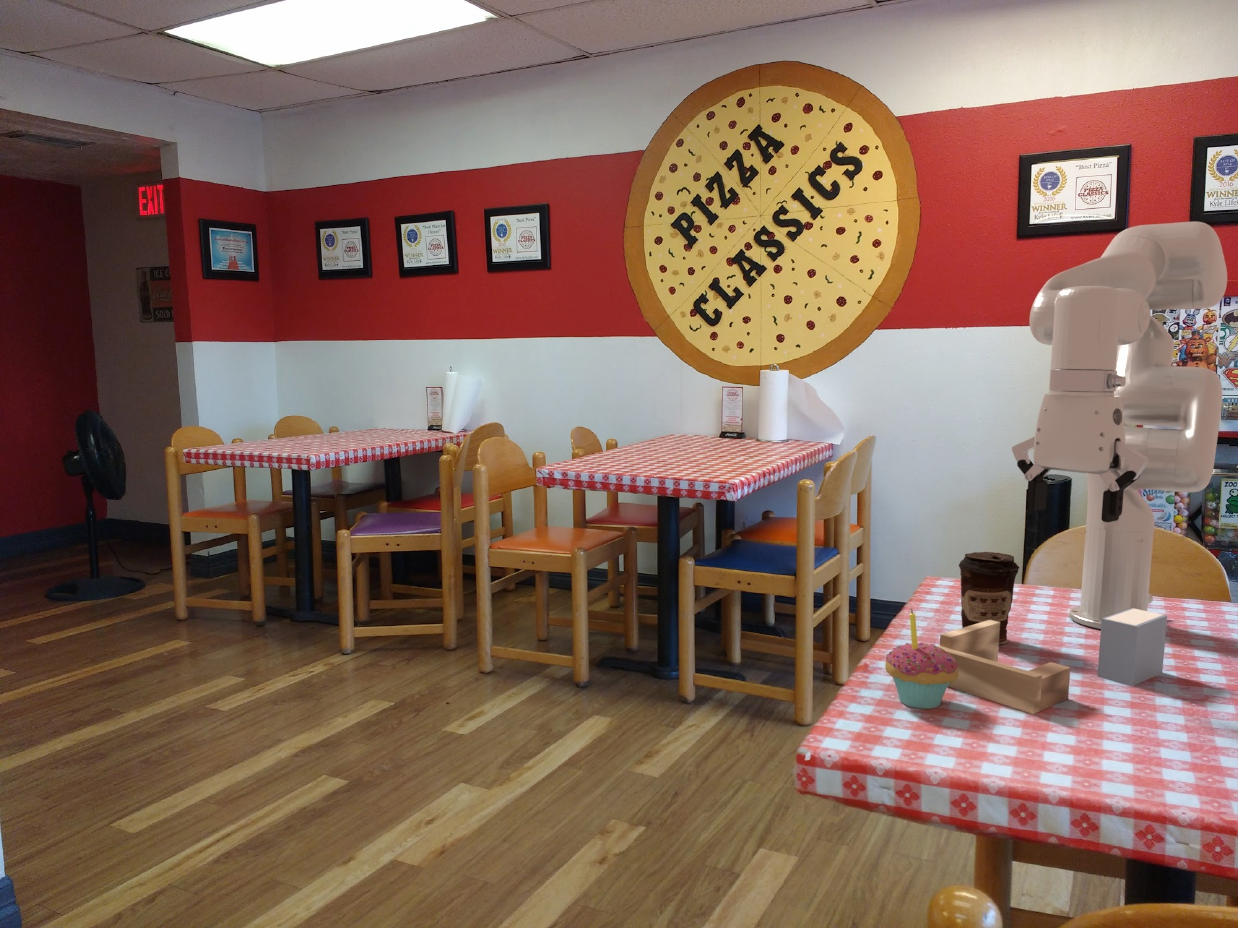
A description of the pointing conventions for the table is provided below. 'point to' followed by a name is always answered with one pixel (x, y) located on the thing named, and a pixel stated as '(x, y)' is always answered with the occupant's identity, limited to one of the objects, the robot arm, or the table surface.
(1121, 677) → the grey rectangular block
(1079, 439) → the robot arm
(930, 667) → the cupcake
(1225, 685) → the table surface
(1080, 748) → the table surface
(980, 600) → the coffee cup
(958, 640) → the rack
